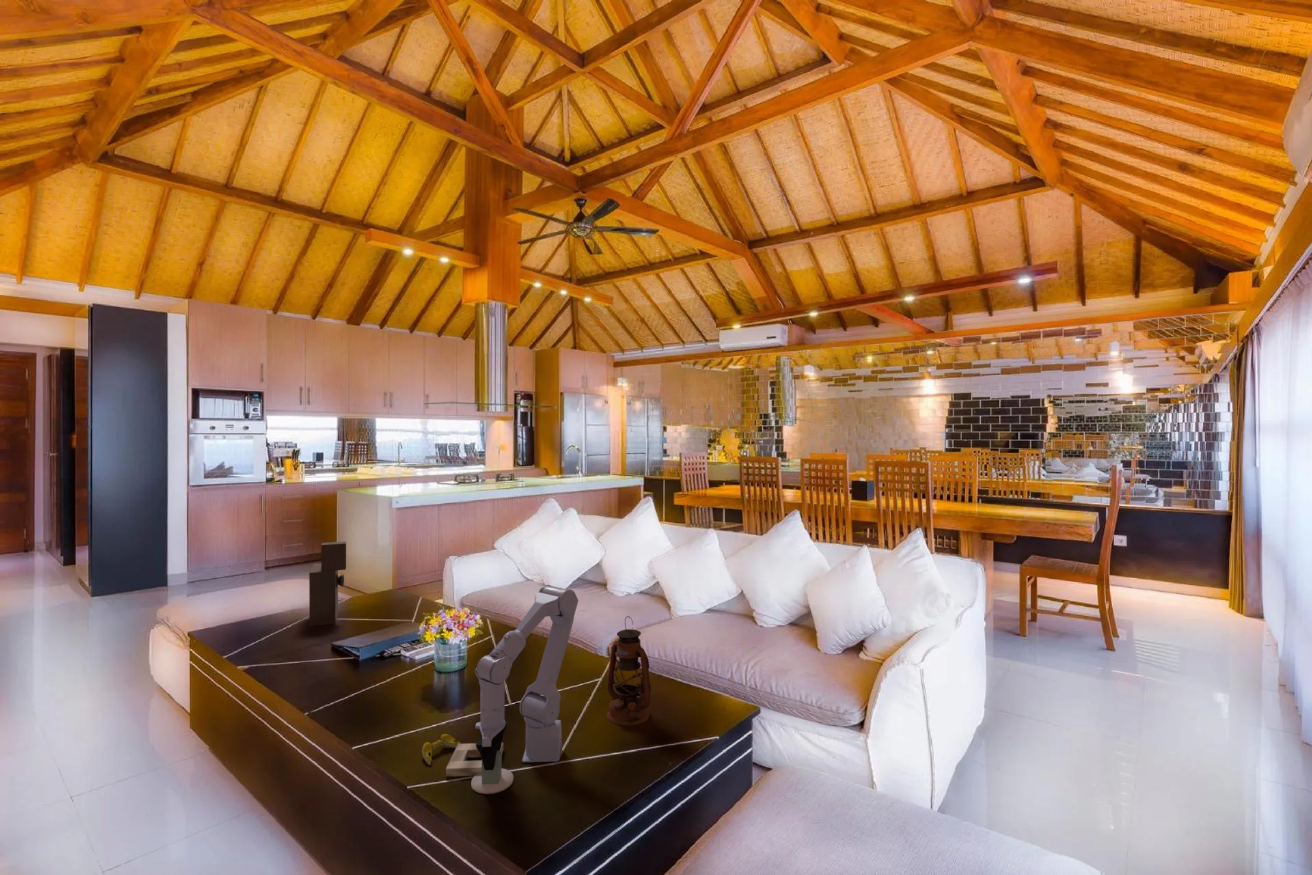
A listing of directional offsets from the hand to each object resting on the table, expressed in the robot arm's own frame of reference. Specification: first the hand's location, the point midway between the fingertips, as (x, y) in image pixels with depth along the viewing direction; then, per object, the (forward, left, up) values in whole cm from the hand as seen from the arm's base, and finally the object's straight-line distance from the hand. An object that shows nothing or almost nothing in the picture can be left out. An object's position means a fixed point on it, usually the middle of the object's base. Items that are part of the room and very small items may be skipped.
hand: (492, 760), depth 151 cm
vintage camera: (+100, -134, -5) cm, 167 cm away
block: (0, 0, -5) cm, 5 cm away
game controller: (+17, -14, -6) cm, 23 cm away
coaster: (0, 0, -5) cm, 5 cm away
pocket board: (+6, -9, -5) cm, 12 cm away
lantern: (-34, -33, -6) cm, 48 cm away
